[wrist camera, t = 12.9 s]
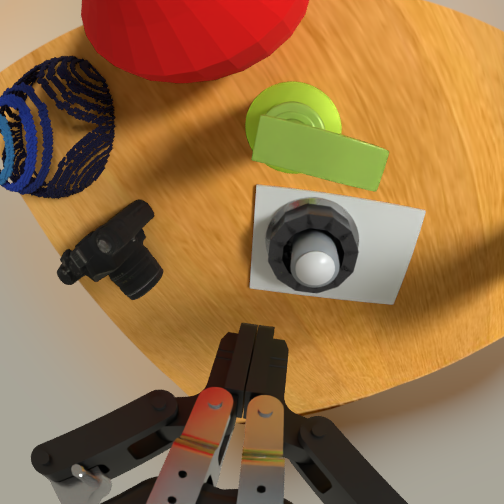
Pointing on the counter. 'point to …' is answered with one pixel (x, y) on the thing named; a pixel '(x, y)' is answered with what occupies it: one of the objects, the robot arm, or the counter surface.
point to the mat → (370, 246)
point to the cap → (314, 257)
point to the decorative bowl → (17, 101)
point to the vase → (189, 35)
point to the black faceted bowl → (318, 217)
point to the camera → (116, 254)
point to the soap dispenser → (309, 137)
